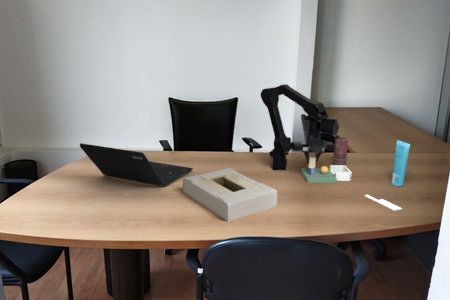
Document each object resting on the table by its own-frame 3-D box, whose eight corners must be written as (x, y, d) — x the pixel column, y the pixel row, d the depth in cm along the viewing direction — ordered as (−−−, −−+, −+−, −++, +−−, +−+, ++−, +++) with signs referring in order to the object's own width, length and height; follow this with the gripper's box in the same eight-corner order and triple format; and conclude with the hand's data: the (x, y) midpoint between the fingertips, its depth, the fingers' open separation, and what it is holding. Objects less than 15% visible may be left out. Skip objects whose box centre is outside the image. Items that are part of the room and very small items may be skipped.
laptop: (193, 171, 182) (193, 132, 177) (145, 200, 150) (143, 153, 144) (137, 161, 196) (134, 124, 191) (81, 186, 164) (77, 142, 158)
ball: (320, 175, 174) (321, 167, 173) (318, 172, 178) (319, 165, 177) (328, 175, 174) (329, 167, 173) (326, 172, 178) (327, 165, 177)
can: (346, 168, 188) (349, 140, 184) (333, 167, 190) (335, 139, 186) (345, 164, 194) (348, 137, 190) (332, 163, 195) (334, 136, 191)
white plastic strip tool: (373, 195, 158) (374, 192, 157) (404, 209, 145) (404, 207, 144) (364, 196, 156) (364, 194, 155) (394, 212, 143) (394, 209, 142)
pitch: (307, 182, 169) (307, 177, 168) (300, 171, 183) (301, 166, 183) (337, 182, 169) (337, 177, 169) (327, 171, 184) (328, 166, 183)
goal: (335, 180, 172) (336, 172, 171) (329, 173, 181) (330, 165, 180) (351, 180, 172) (351, 172, 171) (344, 173, 181) (344, 165, 180)
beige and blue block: (309, 175, 172) (310, 159, 170) (306, 170, 179) (307, 154, 177) (315, 175, 172) (317, 159, 170) (312, 170, 179) (313, 154, 177)
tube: (408, 186, 166) (414, 143, 160) (400, 188, 164) (406, 144, 158) (394, 180, 172) (400, 139, 167) (386, 182, 170) (392, 140, 165)
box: (181, 194, 157) (227, 223, 132) (181, 176, 155) (228, 202, 130) (228, 183, 170) (277, 208, 145) (228, 166, 168) (278, 189, 143)
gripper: (296, 135, 162) (294, 170, 167) (340, 135, 163) (337, 170, 167) (291, 129, 173) (289, 162, 178) (333, 129, 173) (330, 162, 178)
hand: (311, 164), depth 175 cm, fingers closed on beige and blue block, 3 cm apart
